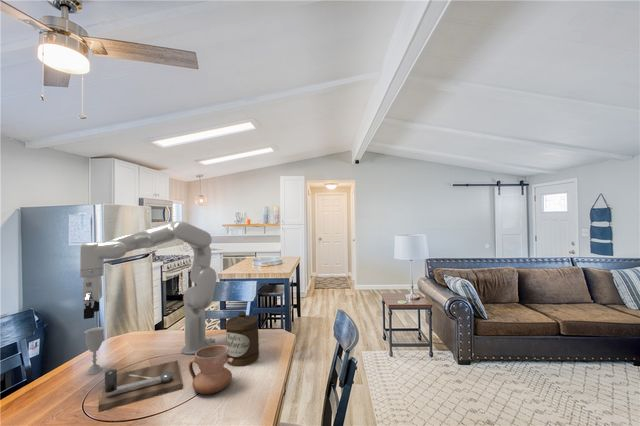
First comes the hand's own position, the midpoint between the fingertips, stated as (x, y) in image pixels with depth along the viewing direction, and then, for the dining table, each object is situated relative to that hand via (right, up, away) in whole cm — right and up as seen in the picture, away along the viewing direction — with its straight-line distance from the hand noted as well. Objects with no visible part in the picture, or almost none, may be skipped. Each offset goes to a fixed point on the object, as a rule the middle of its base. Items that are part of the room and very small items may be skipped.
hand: (91, 314), depth 119 cm
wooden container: (+57, -27, +18) cm, 66 cm away
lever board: (+23, -27, -2) cm, 35 cm away
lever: (+25, -24, -8) cm, 36 cm away
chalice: (-6, -28, +9) cm, 30 cm away
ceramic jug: (+50, -27, -5) cm, 57 cm away
